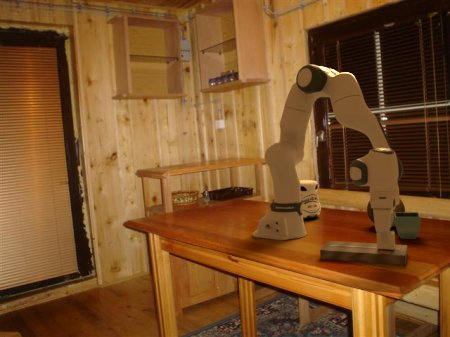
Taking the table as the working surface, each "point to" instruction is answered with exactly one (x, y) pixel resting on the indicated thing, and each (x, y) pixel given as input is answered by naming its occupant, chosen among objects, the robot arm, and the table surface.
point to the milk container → (310, 199)
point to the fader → (390, 241)
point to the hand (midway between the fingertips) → (386, 240)
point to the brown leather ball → (398, 208)
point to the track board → (363, 253)
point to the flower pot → (407, 224)
